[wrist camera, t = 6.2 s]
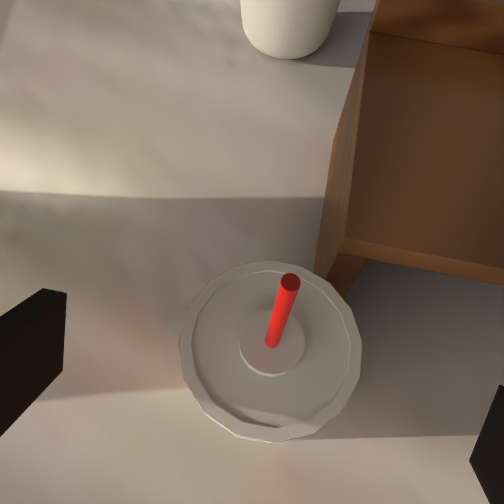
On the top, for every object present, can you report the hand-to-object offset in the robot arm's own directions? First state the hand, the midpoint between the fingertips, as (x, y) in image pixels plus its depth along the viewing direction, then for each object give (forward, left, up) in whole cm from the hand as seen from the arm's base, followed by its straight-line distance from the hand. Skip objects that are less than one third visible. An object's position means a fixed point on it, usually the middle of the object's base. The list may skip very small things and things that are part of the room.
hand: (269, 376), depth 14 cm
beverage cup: (0, +1, -10) cm, 10 cm away
